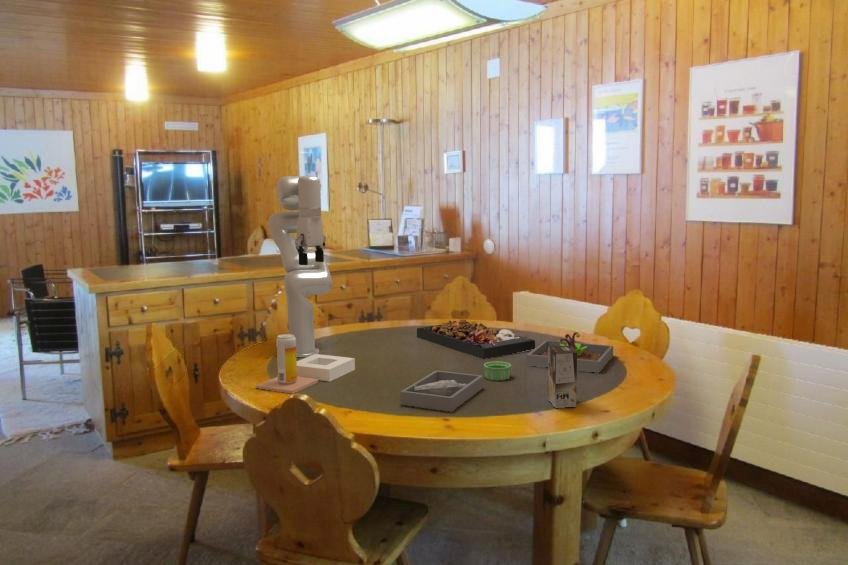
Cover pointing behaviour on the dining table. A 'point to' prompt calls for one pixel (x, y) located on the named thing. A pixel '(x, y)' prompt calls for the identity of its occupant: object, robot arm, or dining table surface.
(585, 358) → the plant
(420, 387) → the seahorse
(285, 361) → the beer can
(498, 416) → the dining table surface
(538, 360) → the planter frame
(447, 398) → the grey tray
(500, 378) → the ramekin
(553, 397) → the coffee box
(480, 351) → the food platter
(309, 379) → the coaster tile
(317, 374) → the frame
